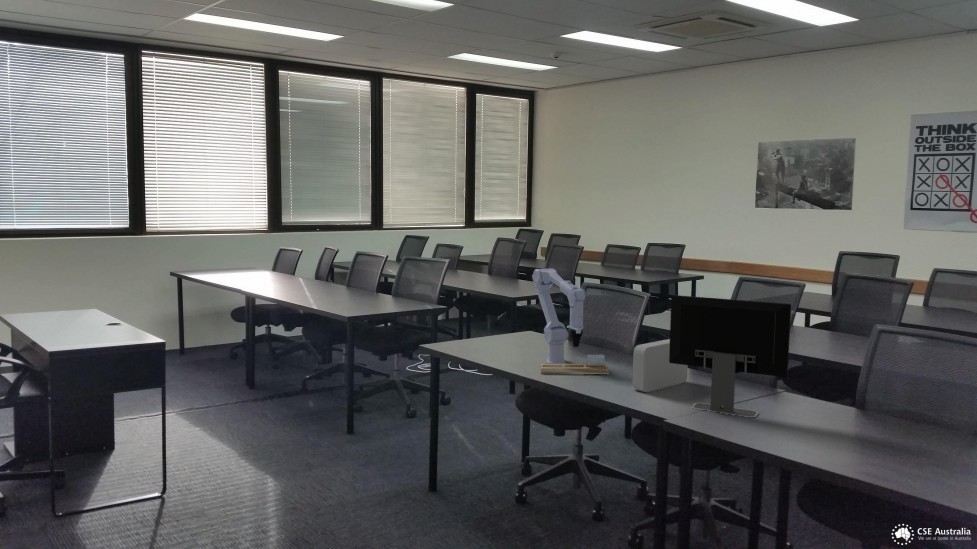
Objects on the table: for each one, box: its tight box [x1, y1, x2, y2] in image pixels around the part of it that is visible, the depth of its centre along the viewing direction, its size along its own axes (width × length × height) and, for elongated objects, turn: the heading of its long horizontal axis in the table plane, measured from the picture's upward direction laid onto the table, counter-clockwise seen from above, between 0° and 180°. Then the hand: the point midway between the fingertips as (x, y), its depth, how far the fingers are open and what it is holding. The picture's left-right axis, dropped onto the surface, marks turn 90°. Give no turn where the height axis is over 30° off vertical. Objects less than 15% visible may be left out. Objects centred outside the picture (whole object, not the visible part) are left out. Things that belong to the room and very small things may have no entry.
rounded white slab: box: [632, 338, 689, 393], centre depth 295 cm, size 29×8×18 cm, turn 129°
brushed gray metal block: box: [586, 354, 606, 367], centre depth 318 cm, size 2×7×6 cm, turn 96°
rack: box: [539, 362, 610, 375], centre depth 318 cm, size 9×29×3 cm, turn 88°
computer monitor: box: [669, 294, 792, 418], centre depth 260 cm, size 41×8×40 cm, turn 59°
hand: (575, 346), depth 323 cm, fingers closed
